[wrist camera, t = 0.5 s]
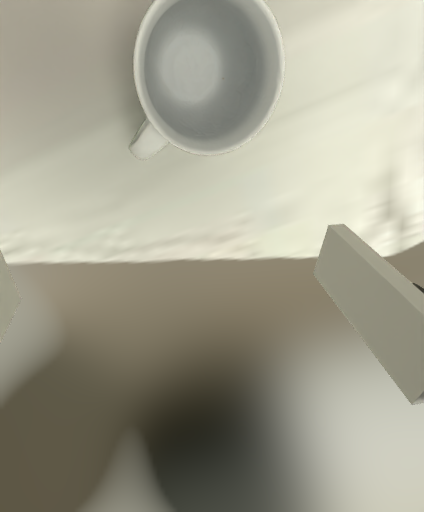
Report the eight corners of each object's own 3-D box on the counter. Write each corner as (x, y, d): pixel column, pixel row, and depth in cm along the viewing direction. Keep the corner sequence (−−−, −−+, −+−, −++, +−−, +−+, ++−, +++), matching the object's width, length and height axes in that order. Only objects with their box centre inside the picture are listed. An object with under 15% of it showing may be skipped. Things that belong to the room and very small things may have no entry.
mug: (173, 169, 37) (185, 215, 26) (93, 103, 31) (67, 129, 21) (259, 66, 32) (315, 72, 22) (183, -33, 27) (209, -89, 16)
